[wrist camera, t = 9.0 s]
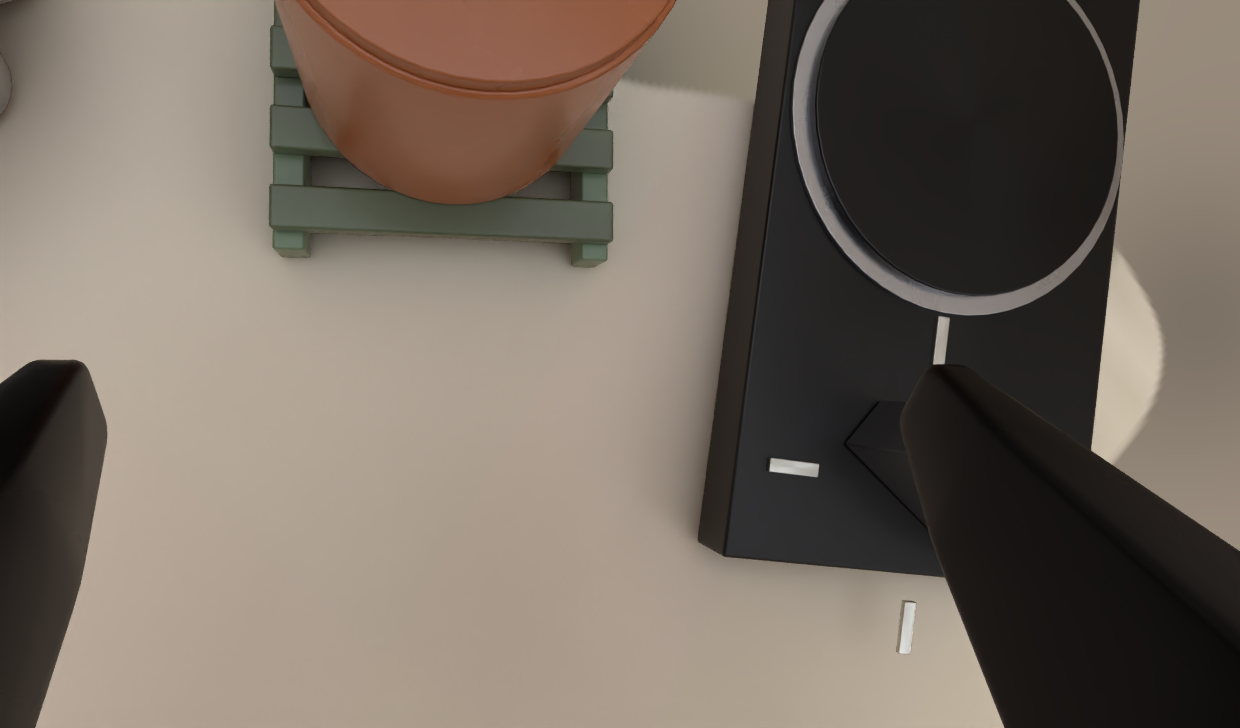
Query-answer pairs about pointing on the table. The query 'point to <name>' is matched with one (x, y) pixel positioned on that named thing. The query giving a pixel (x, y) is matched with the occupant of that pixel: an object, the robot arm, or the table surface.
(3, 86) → the round bodied animal figurine
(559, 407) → the table surface
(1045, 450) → the robot arm
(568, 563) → the table surface
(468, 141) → the pot
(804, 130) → the hob plate
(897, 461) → the grey and red block
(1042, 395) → the hob
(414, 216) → the rack
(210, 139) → the table surface
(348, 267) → the table surface
